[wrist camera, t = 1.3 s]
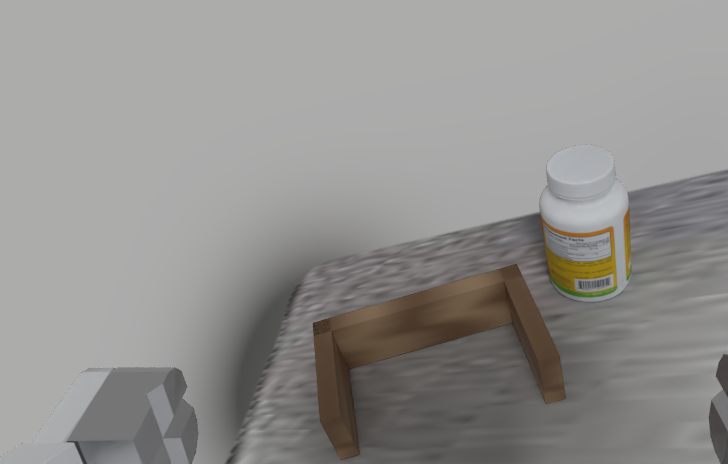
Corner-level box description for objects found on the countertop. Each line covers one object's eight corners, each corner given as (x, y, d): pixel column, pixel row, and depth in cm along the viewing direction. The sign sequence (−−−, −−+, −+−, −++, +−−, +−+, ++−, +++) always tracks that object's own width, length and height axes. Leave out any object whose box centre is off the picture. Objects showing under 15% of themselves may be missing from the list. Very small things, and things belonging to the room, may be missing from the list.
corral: (524, 305, 46) (516, 263, 43) (565, 398, 39) (559, 355, 37) (330, 360, 47) (312, 322, 44) (340, 459, 40) (320, 421, 38)
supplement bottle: (585, 239, 49) (575, 128, 43) (649, 271, 45) (647, 154, 39) (533, 280, 47) (515, 170, 41) (594, 317, 43) (584, 201, 37)
